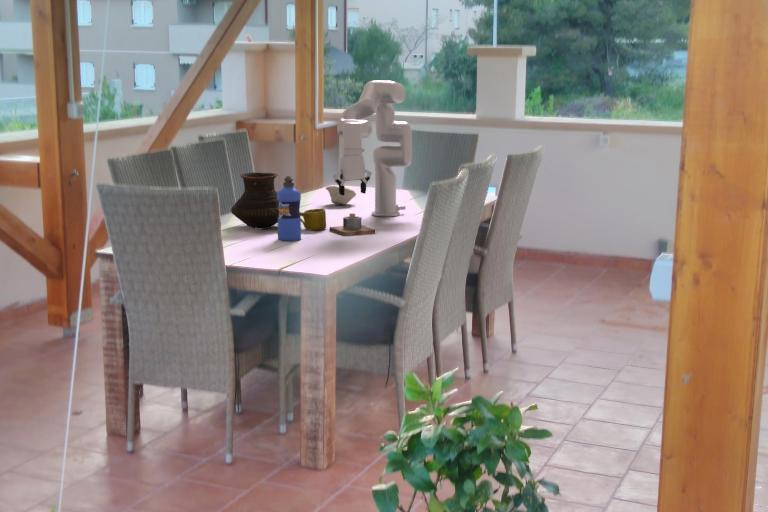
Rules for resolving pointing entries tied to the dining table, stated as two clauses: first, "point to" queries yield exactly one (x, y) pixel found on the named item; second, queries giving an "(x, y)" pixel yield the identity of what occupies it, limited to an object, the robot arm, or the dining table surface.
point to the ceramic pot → (257, 201)
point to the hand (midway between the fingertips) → (352, 194)
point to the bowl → (338, 198)
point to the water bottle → (289, 212)
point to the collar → (352, 223)
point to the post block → (352, 232)
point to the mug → (314, 219)
